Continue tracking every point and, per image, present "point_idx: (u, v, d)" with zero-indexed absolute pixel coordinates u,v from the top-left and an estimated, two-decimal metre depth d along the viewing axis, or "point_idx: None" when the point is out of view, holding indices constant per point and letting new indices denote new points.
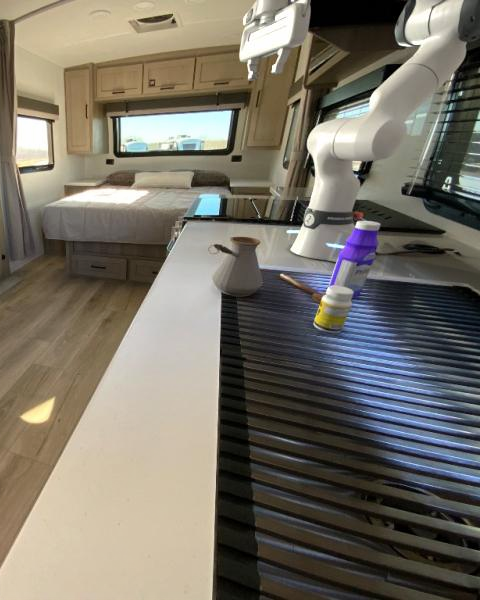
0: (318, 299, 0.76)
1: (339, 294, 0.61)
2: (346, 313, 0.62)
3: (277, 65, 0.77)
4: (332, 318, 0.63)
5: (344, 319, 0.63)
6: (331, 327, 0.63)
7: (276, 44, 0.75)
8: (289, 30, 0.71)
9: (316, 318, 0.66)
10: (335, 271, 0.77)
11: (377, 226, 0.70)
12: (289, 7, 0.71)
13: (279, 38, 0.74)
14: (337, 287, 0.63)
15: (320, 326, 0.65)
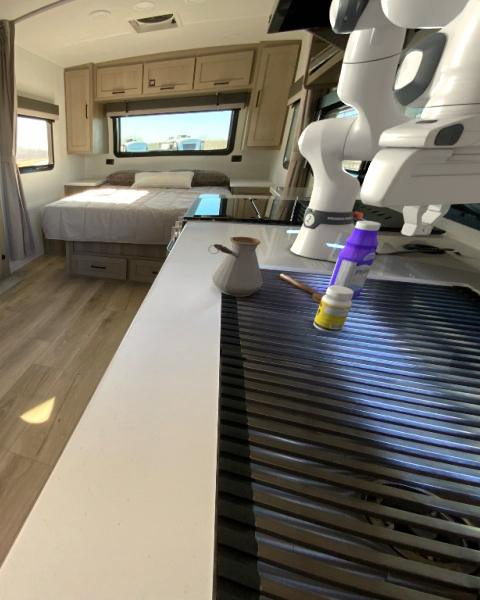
0: (318, 299, 0.76)
1: (339, 294, 0.61)
2: (346, 313, 0.62)
3: None
4: (332, 318, 0.63)
5: (344, 319, 0.63)
6: (331, 327, 0.63)
7: (476, 198, 0.46)
8: None
9: (316, 318, 0.66)
10: (335, 271, 0.77)
11: (377, 226, 0.70)
12: None
13: None
14: (337, 287, 0.63)
15: (320, 326, 0.65)
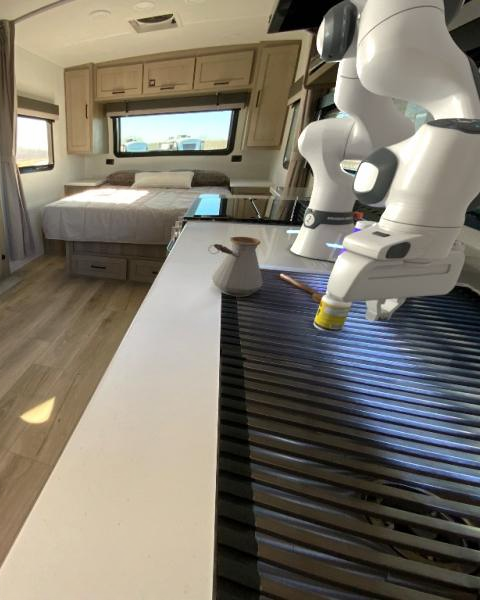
0: (318, 299, 0.76)
1: None
2: (346, 313, 0.62)
3: None
4: (332, 318, 0.63)
5: (344, 319, 0.63)
6: (331, 327, 0.63)
7: (428, 292, 0.53)
8: (452, 281, 0.52)
9: (316, 318, 0.66)
10: None
11: None
12: (455, 255, 0.50)
13: (434, 287, 0.52)
14: None
15: (320, 326, 0.65)
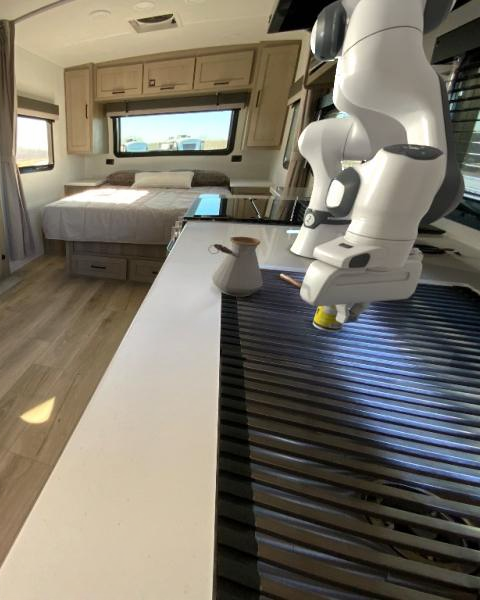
0: None
1: None
2: None
3: None
4: (331, 317, 0.63)
5: None
6: (330, 326, 0.64)
7: (390, 297, 0.59)
8: (412, 287, 0.58)
9: (315, 317, 0.66)
10: None
11: None
12: (413, 264, 0.56)
13: (396, 292, 0.58)
14: None
15: (319, 325, 0.65)
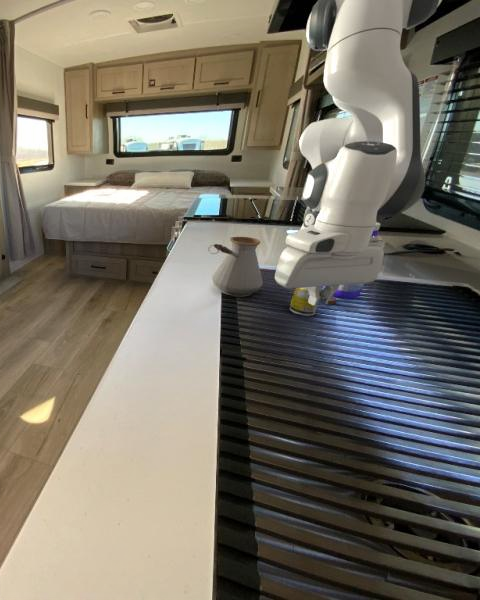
0: None
1: None
2: None
3: None
4: (303, 301, 0.69)
5: None
6: (303, 310, 0.70)
7: (356, 281, 0.64)
8: (375, 272, 0.64)
9: (291, 302, 0.72)
10: None
11: (377, 226, 0.70)
12: (375, 250, 0.62)
13: (361, 276, 0.64)
14: None
15: (294, 309, 0.71)
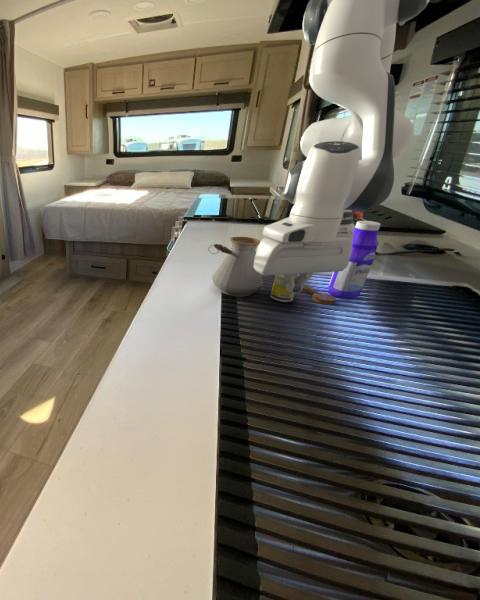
0: (318, 299, 0.76)
1: None
2: None
3: None
4: (280, 288, 0.75)
5: None
6: (280, 296, 0.76)
7: (327, 269, 0.70)
8: (345, 261, 0.70)
9: (272, 289, 0.78)
10: None
11: (377, 226, 0.70)
12: (344, 240, 0.68)
13: (332, 265, 0.70)
14: None
15: (272, 295, 0.77)
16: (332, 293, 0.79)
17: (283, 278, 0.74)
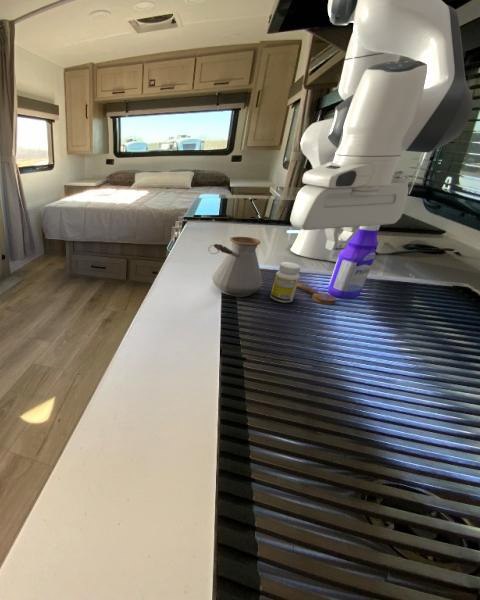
0: (318, 299, 0.76)
1: (285, 267, 0.73)
2: (292, 285, 0.74)
3: None
4: (280, 288, 0.75)
5: (291, 290, 0.74)
6: (280, 296, 0.76)
7: (378, 221, 0.60)
8: (399, 211, 0.60)
9: (272, 289, 0.78)
10: (335, 271, 0.77)
11: (377, 226, 0.70)
12: (399, 186, 0.58)
13: (383, 216, 0.60)
14: (289, 263, 0.75)
15: (272, 295, 0.77)
16: (332, 293, 0.79)
17: (283, 279, 0.74)
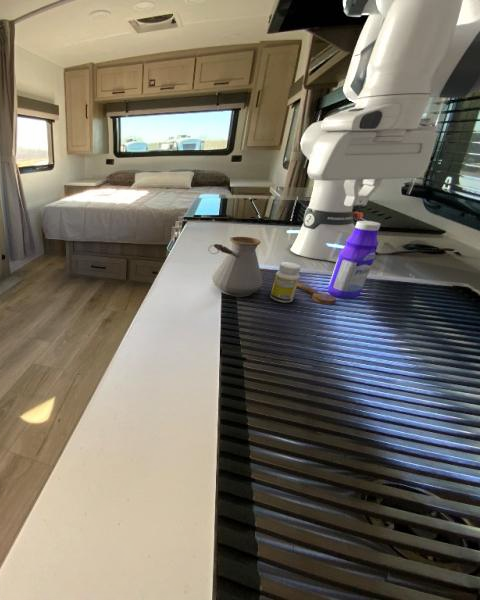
0: (318, 299, 0.76)
1: (285, 267, 0.73)
2: (292, 285, 0.74)
3: None
4: (280, 288, 0.75)
5: (291, 290, 0.74)
6: (280, 296, 0.76)
7: (402, 173, 0.56)
8: (424, 162, 0.56)
9: (272, 289, 0.78)
10: (335, 271, 0.77)
11: (377, 226, 0.70)
12: (426, 133, 0.54)
13: (408, 167, 0.56)
14: (289, 263, 0.75)
15: (272, 295, 0.77)
16: (332, 293, 0.79)
17: (283, 279, 0.74)
